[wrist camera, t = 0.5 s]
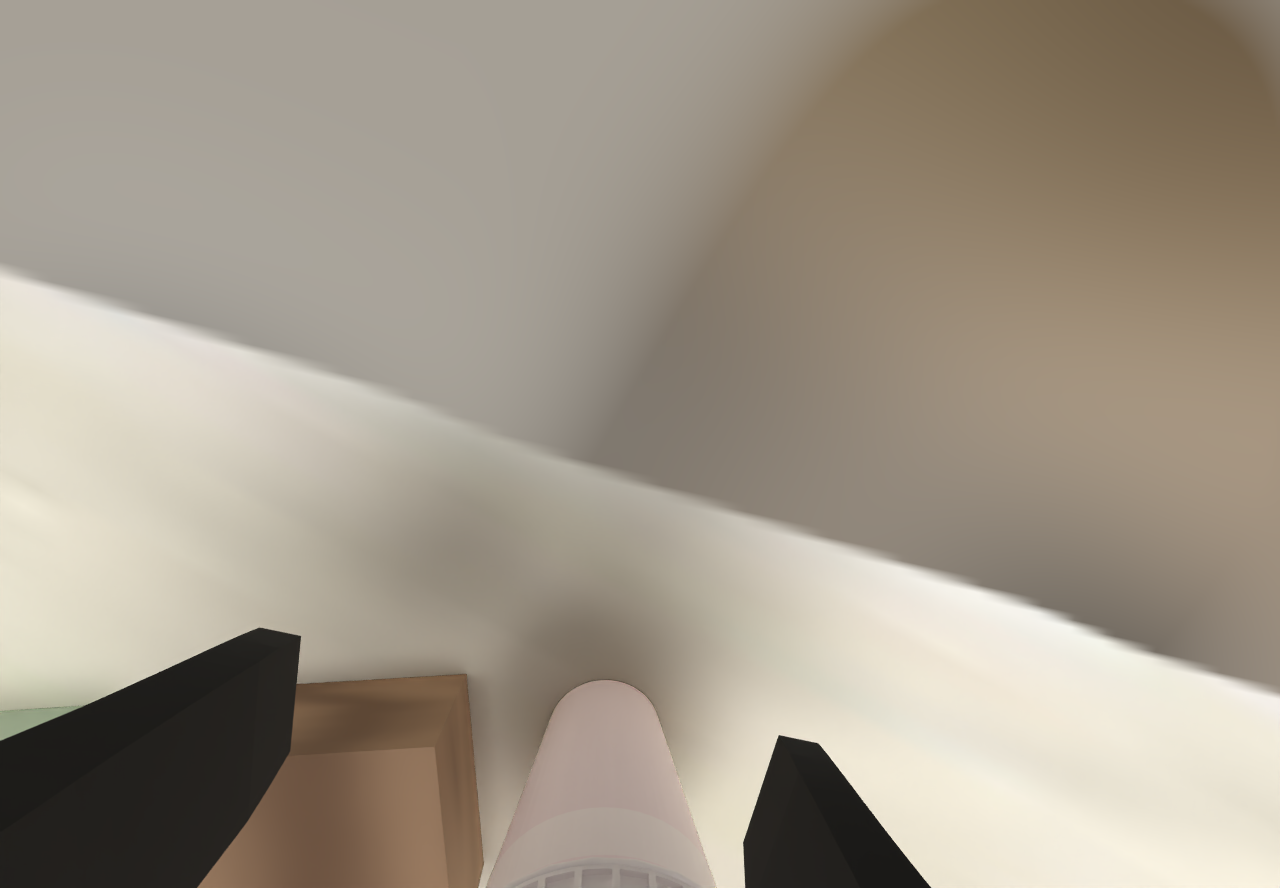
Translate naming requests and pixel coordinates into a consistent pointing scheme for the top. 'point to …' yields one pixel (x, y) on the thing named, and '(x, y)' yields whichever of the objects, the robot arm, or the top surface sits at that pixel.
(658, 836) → the smoothie
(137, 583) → the top surface
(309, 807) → the walnut block
